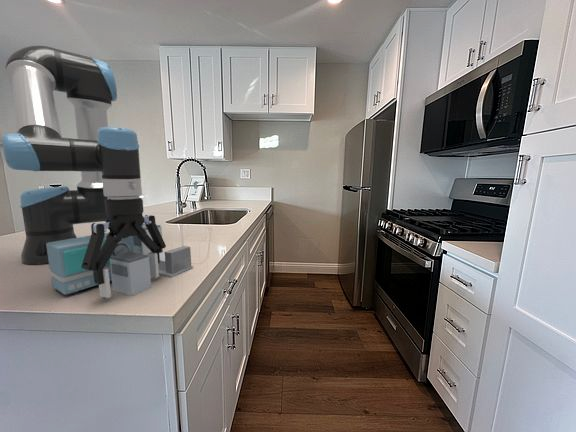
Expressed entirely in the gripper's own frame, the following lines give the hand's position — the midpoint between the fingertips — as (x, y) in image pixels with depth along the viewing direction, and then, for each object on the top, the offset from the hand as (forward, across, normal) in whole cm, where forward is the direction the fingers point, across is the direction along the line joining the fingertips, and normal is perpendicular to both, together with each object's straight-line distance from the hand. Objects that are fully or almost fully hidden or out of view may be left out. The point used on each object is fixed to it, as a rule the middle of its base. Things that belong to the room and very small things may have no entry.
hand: (132, 285), depth 62 cm
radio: (+1, -1, +11) cm, 11 cm away
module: (+1, 0, 0) cm, 1 cm away
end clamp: (+1, +14, -1) cm, 14 cm away
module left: (+1, +14, +12) cm, 18 cm away
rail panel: (+1, +13, +7) cm, 15 cm away
